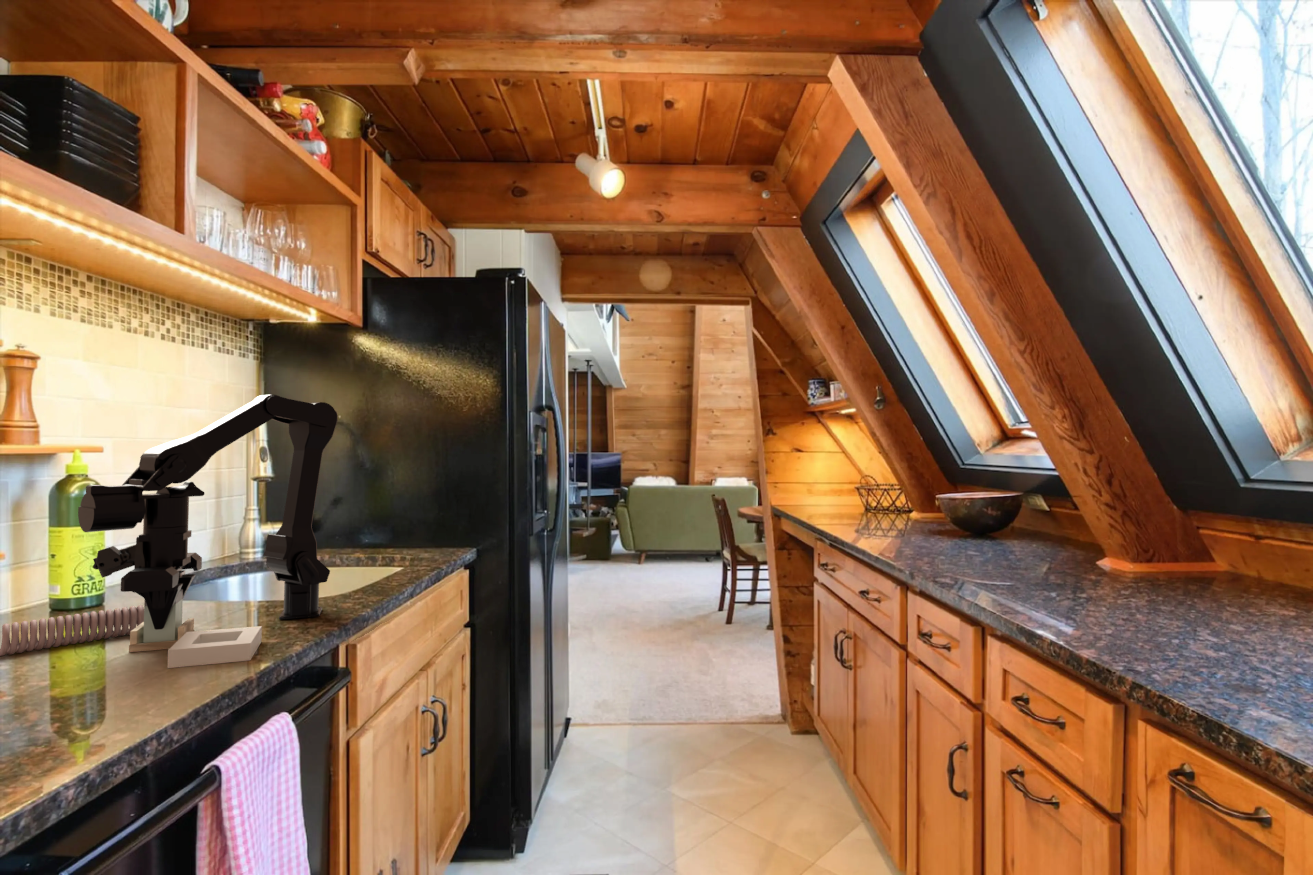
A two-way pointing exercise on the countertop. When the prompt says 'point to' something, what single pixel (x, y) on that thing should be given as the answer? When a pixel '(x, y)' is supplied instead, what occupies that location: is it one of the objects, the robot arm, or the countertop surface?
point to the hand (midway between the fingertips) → (163, 625)
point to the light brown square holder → (138, 644)
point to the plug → (170, 627)
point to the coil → (93, 620)
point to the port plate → (215, 646)
